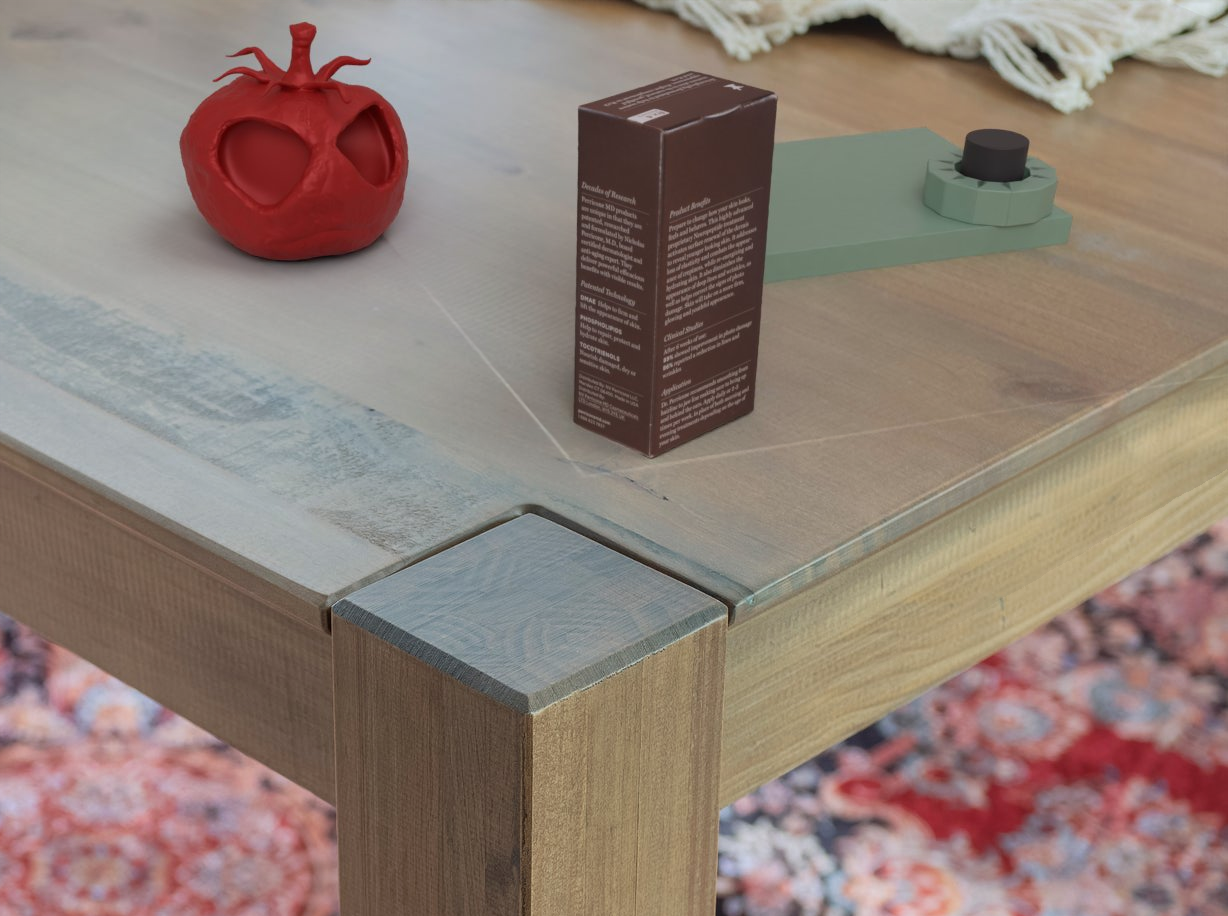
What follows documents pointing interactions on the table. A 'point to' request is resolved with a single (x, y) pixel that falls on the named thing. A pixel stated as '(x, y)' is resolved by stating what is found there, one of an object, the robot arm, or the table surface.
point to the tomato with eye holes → (296, 157)
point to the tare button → (994, 155)
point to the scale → (897, 205)
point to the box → (670, 258)
